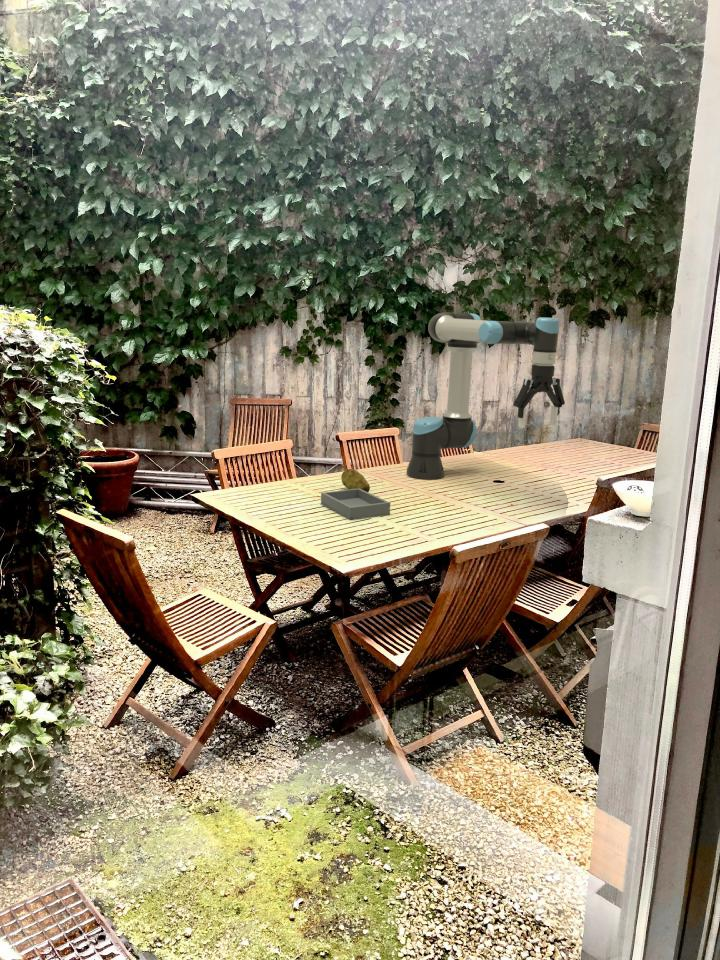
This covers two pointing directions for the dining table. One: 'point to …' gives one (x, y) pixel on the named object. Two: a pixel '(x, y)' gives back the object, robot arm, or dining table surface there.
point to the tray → (355, 503)
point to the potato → (354, 480)
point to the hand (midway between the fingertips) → (537, 426)
